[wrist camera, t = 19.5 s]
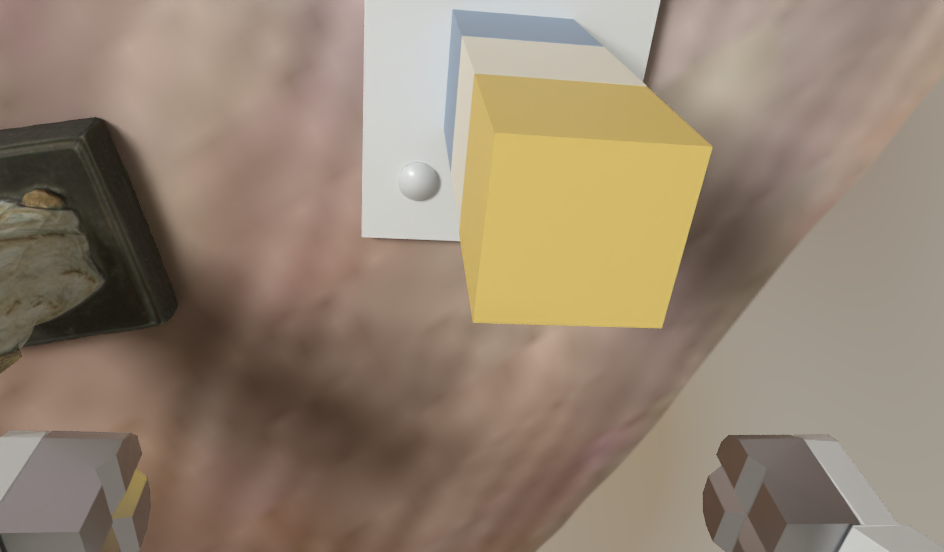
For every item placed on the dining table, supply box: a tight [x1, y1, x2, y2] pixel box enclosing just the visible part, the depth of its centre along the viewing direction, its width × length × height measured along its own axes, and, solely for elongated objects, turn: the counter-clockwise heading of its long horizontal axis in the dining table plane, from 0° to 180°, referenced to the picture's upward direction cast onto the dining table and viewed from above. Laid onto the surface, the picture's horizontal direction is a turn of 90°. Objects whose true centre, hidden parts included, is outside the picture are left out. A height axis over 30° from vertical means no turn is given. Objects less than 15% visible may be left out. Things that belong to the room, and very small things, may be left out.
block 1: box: [444, 9, 604, 172], centre depth 27 cm, size 5×5×5 cm
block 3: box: [459, 74, 713, 328], centre depth 19 cm, size 5×5×5 cm
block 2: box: [451, 36, 647, 228], centre depth 23 cm, size 5×5×5 cm
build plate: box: [362, 0, 660, 241], centre depth 30 cm, size 16×12×1 cm
